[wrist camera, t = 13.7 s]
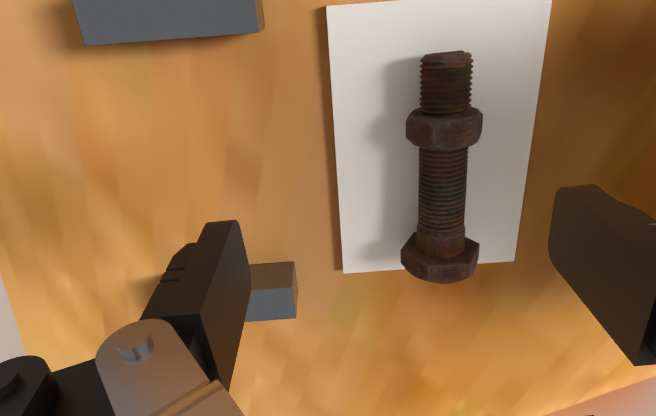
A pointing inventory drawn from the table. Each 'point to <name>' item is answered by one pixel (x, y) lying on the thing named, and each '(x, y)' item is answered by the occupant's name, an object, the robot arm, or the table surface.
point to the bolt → (443, 169)
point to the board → (403, 97)
